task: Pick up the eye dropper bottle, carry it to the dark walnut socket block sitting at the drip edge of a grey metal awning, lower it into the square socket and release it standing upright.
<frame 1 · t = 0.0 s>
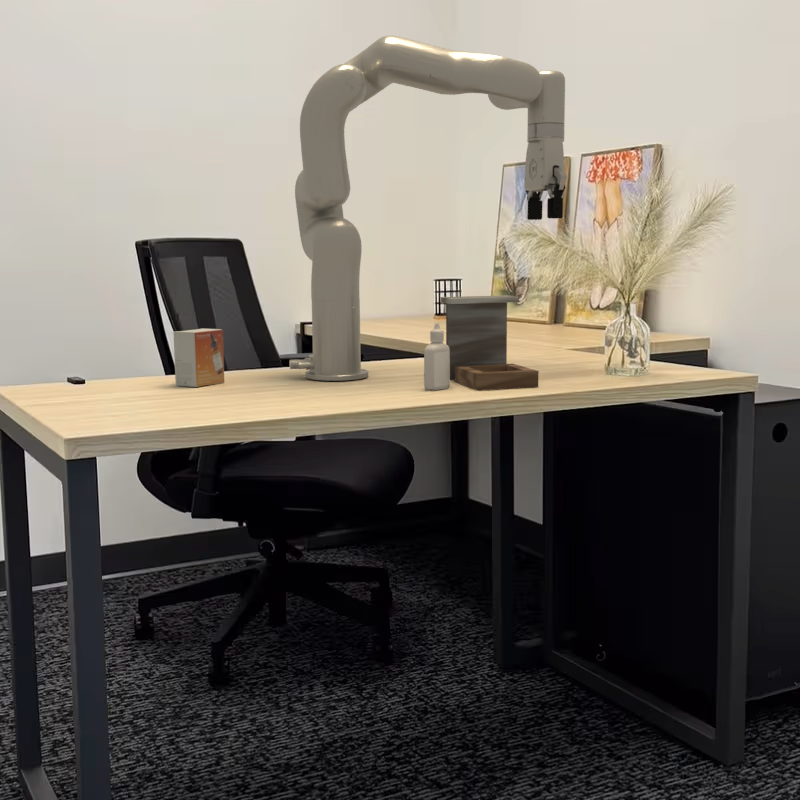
hand: (544, 218, 202), 31 cm above the table, fingers open, 9 cm apart
small box: (200, 385, 186), on the table
socket block: (495, 384, 182), on the table
eye dropper bottle: (437, 389, 178), on the table
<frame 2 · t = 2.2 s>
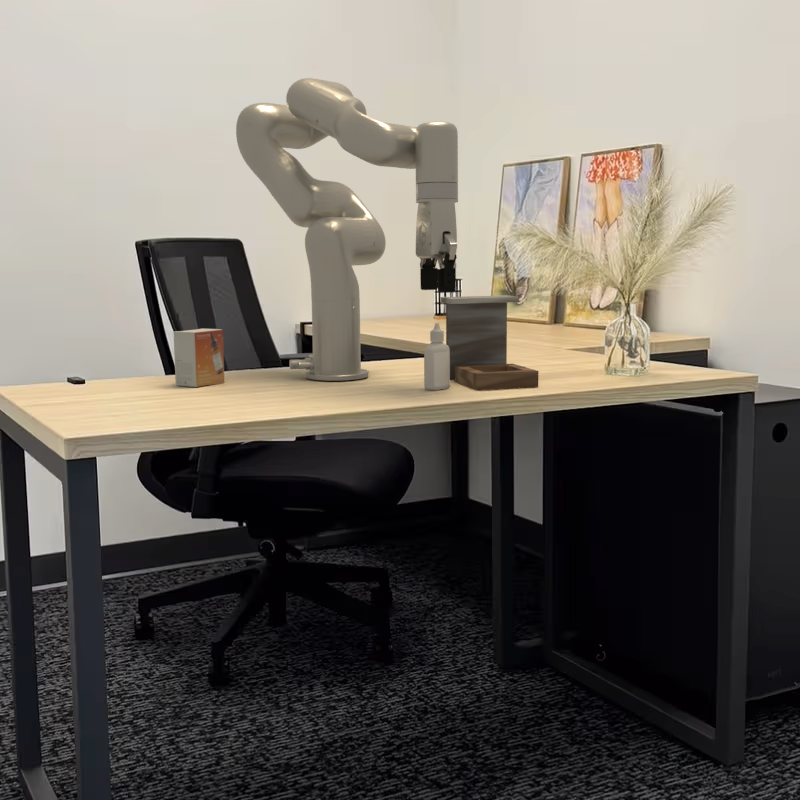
hand: (437, 290, 175), 18 cm above the table, fingers open, 9 cm apart
nothing on the table moved.
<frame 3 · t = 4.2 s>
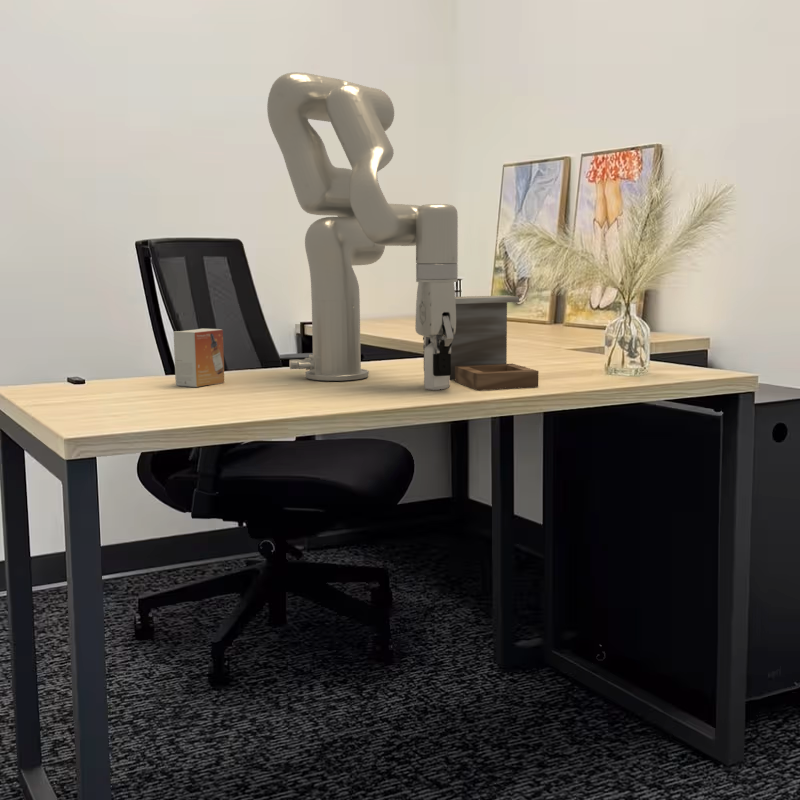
hand: (437, 372, 178), 3 cm above the table, fingers closed on eye dropper bottle, 4 cm apart
eye dropper bottle: (437, 389, 178), on the table, touching gripper
everything else where it was.
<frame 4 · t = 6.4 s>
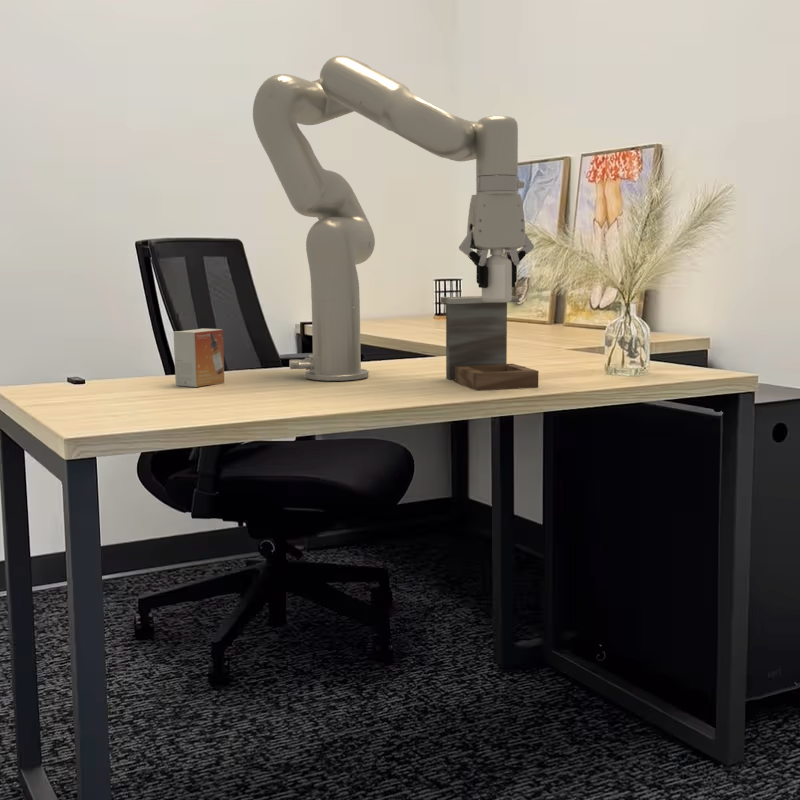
hand: (496, 286, 179), 18 cm above the table, fingers closed on eye dropper bottle, 4 cm apart
eye dropper bottle: (496, 302, 180), point 15 cm above the table, touching gripper
everything else where it was.
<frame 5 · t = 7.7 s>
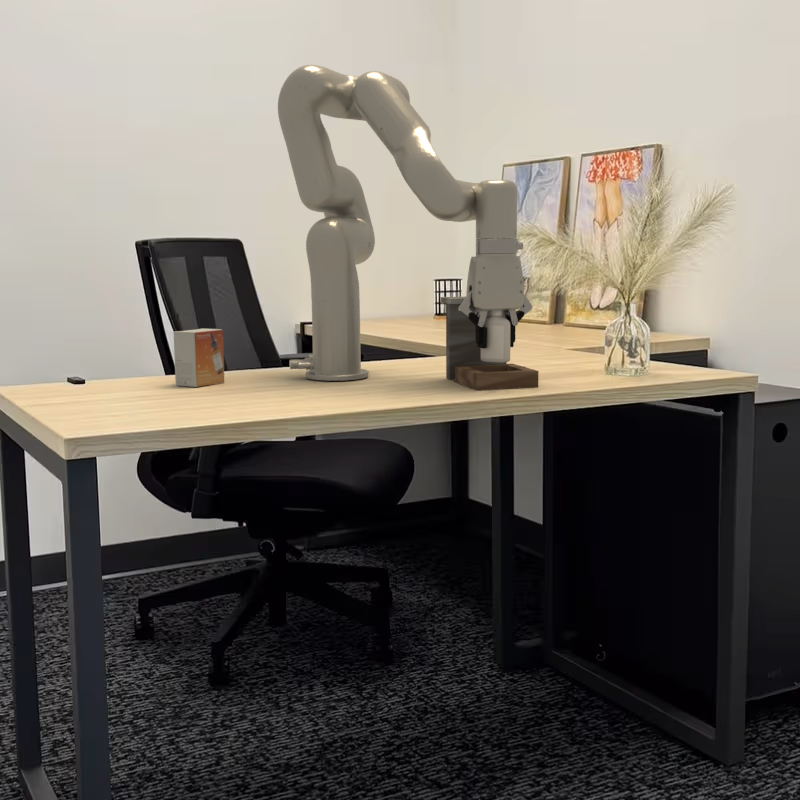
hand: (495, 346, 181), 7 cm above the table, fingers closed on eye dropper bottle, 4 cm apart
eye dropper bottle: (495, 362, 182), point 4 cm above the table, touching gripper
everything else where it was.
when the fingers open (4 cm above the table, at t = 8.8 s): eye dropper bottle stays where it is, resting in socket block.
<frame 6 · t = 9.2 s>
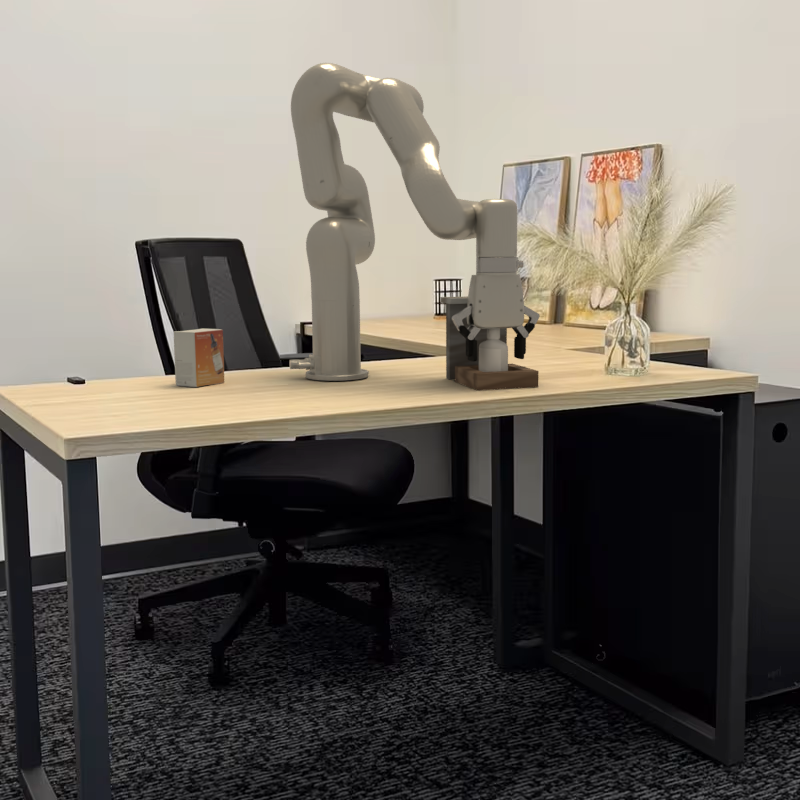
hand: (495, 359, 182), 5 cm above the table, fingers open, 9 cm apart
eye dropper bottle: (493, 385, 182), resting in socket block
everything else where it was.
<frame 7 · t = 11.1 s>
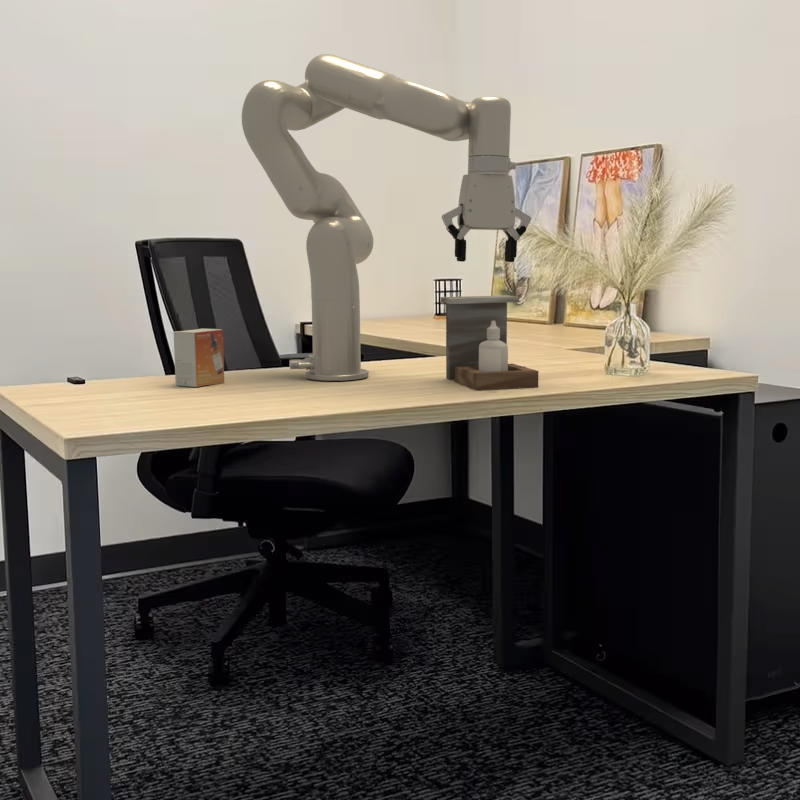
hand: (485, 261, 181), 23 cm above the table, fingers open, 9 cm apart
nothing on the table moved.
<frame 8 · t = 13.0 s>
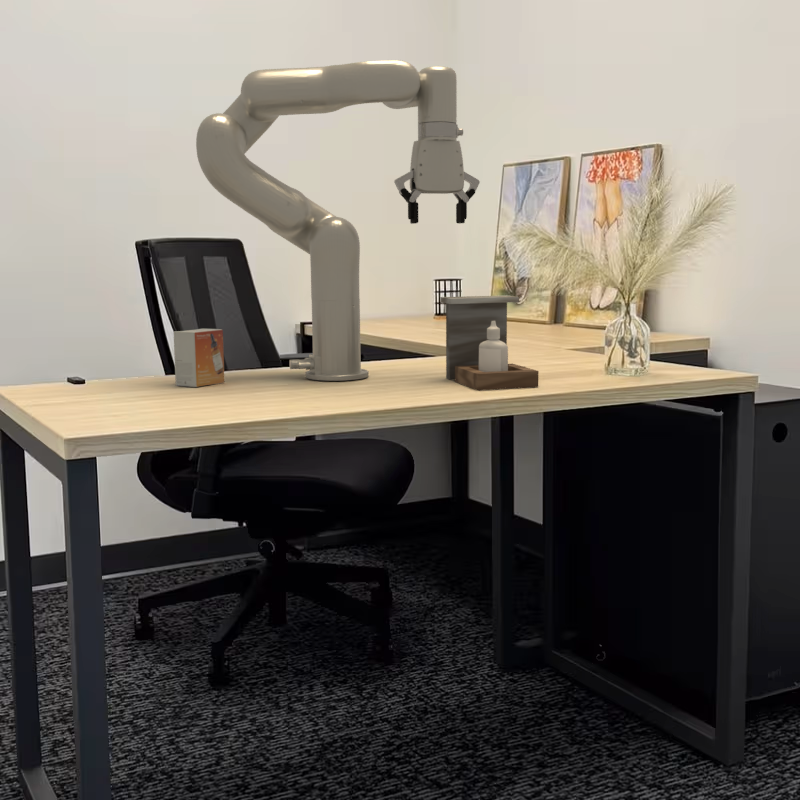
hand: (437, 223, 191), 30 cm above the table, fingers open, 9 cm apart
nothing on the table moved.
at the end: eye dropper bottle 0.5 cm off-centre on the socket block, point 0.0 cm above the socket block's base; eye dropper bottle tilted 0°; the gripper is holding nothing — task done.
